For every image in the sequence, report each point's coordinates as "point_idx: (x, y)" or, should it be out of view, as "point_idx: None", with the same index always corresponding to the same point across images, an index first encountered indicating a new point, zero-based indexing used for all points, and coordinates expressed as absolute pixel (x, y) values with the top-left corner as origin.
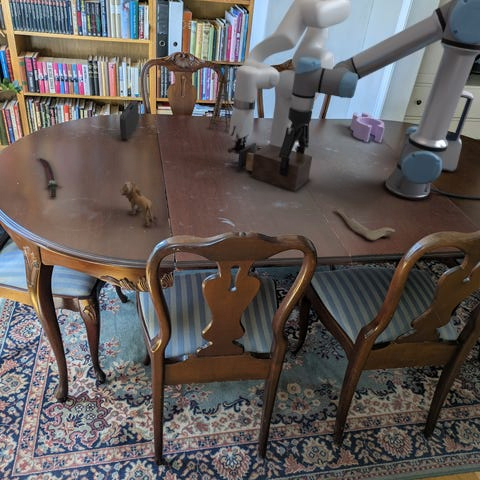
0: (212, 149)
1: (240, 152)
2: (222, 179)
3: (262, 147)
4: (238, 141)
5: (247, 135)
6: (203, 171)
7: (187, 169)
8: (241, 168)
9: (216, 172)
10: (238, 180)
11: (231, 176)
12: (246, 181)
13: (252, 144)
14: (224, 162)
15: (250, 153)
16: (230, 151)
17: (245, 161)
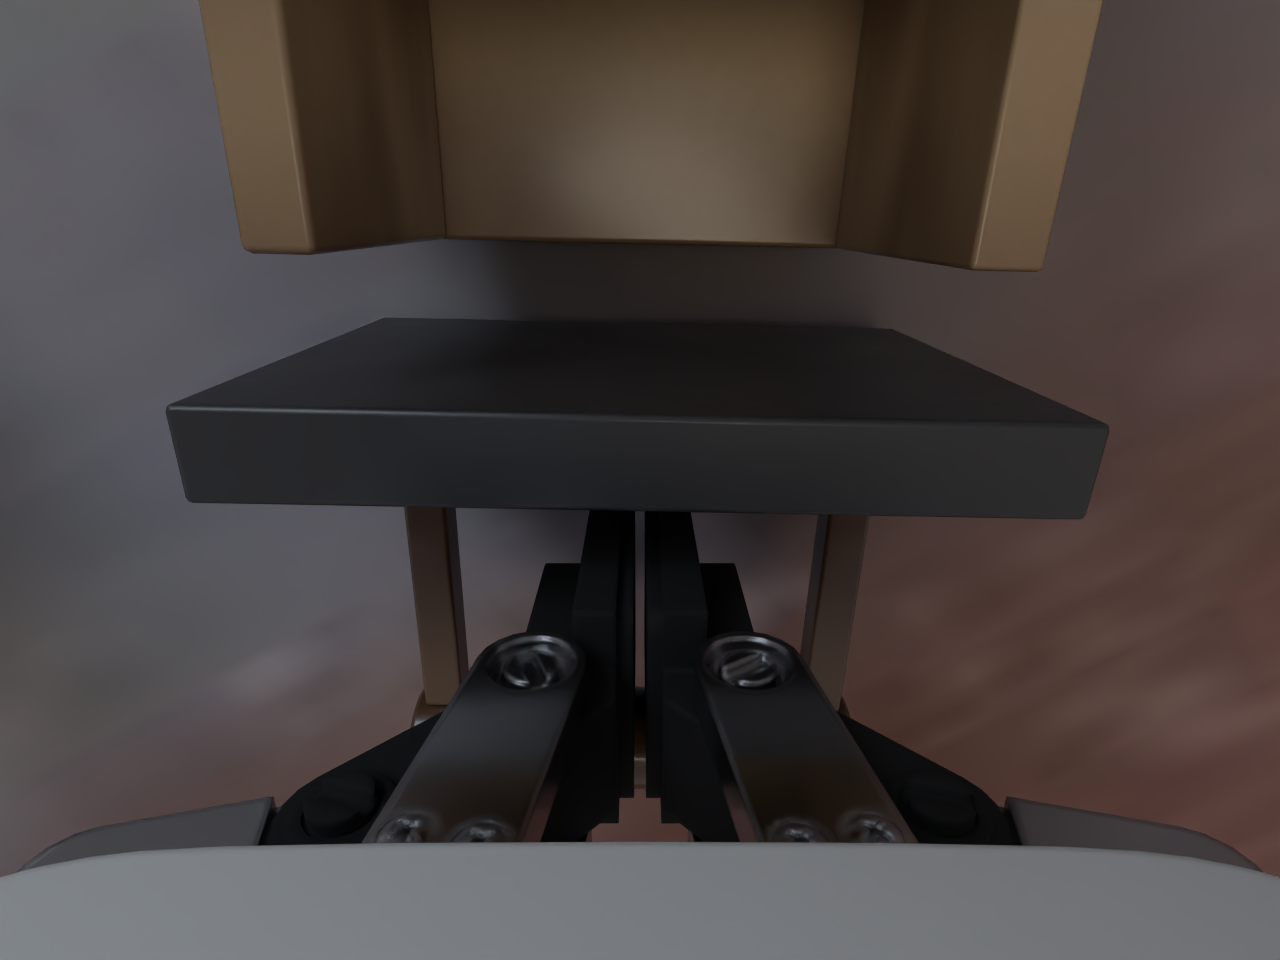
0: None
1: (1073, 464)
2: (1259, 408)
3: (224, 85)
4: (987, 796)
5: (221, 834)
6: (1117, 712)
7: None
8: (865, 330)
9: (1064, 585)
10: (1189, 186)
11: (1091, 356)
12: (1168, 41)
13: (343, 464)
14: None
15: (1026, 163)
16: (842, 713)
17: (754, 344)
